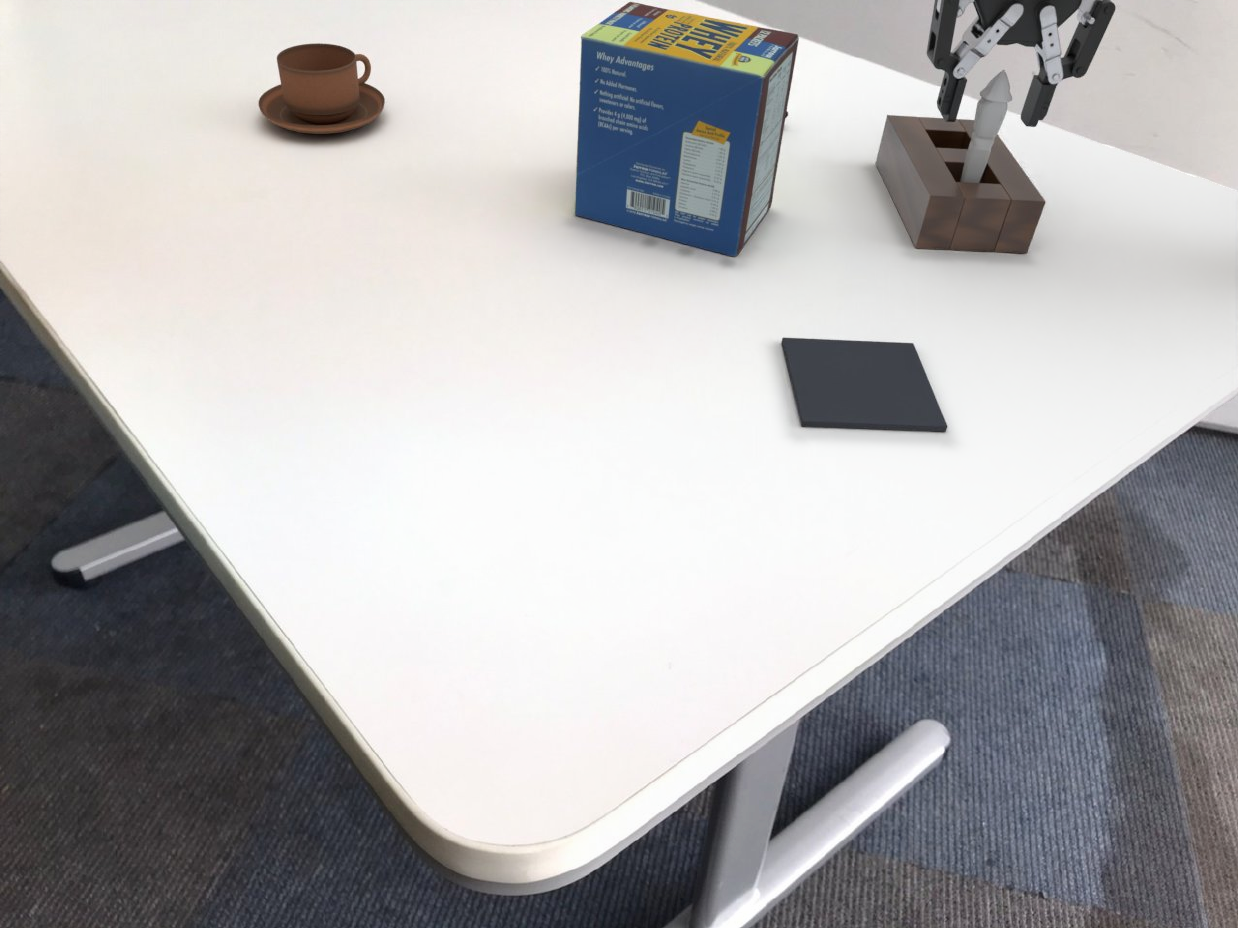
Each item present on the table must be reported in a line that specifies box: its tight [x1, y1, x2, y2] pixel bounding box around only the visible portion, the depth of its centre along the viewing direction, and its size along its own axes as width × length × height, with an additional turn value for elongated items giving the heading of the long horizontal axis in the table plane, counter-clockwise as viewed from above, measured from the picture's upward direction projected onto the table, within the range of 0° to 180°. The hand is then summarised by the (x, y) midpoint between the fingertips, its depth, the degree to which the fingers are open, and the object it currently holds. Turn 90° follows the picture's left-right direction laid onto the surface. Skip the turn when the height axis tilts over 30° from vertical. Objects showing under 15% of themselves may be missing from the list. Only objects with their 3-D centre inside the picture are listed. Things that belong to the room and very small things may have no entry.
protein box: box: [573, 1, 800, 257], centre depth 86 cm, size 10×15×16 cm
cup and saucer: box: [258, 43, 386, 135], centre depth 99 cm, size 12×12×6 cm
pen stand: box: [875, 114, 1046, 254], centre depth 94 cm, size 10×17×5 cm, turn 1°
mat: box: [781, 337, 948, 433], centre depth 73 cm, size 10×10×1 cm
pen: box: [960, 69, 1013, 183], centre depth 88 cm, size 2×3×14 cm
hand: (988, 120), depth 87 cm, fingers open, 6 cm apart
